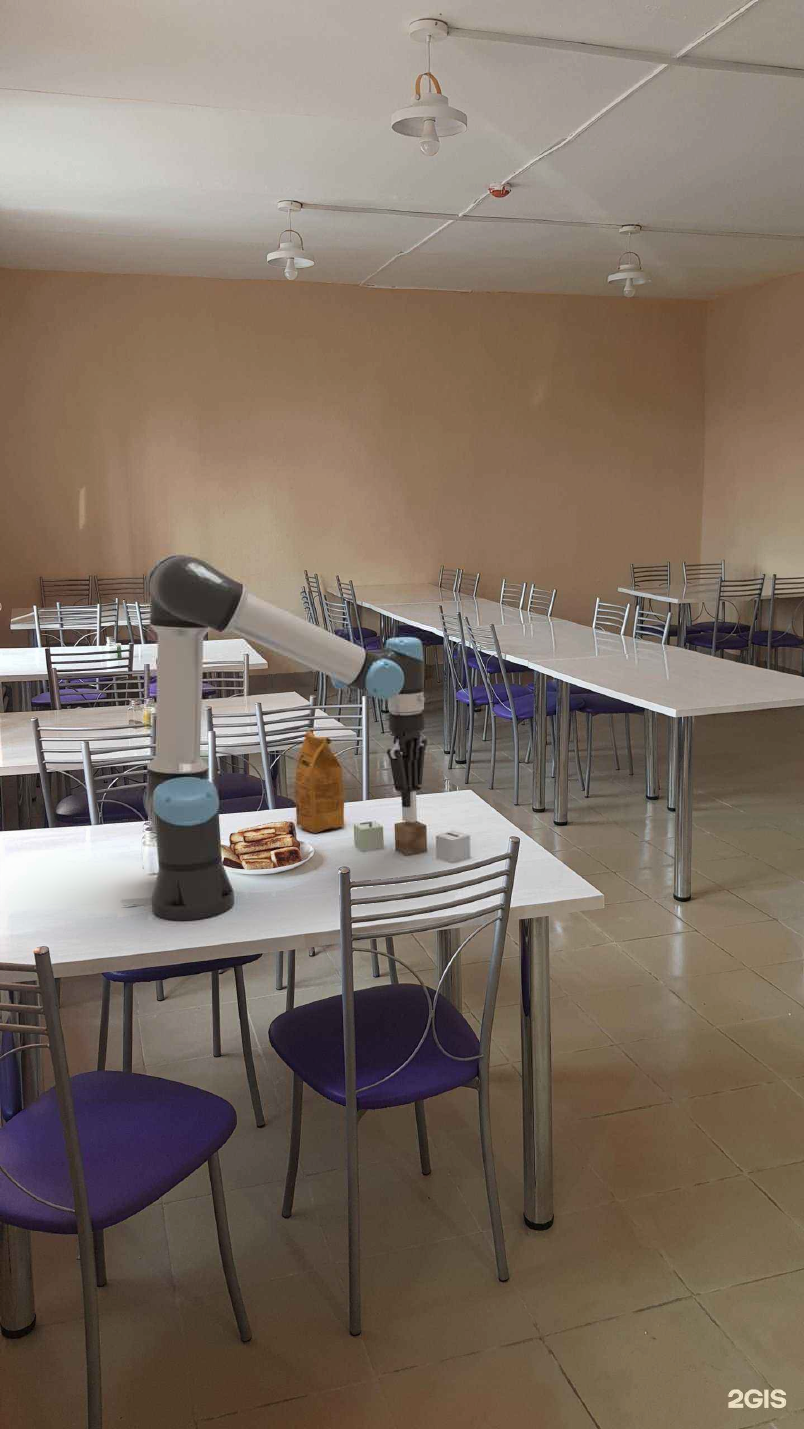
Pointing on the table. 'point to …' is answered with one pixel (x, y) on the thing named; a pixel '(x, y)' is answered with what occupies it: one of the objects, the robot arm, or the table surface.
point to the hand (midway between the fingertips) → (409, 820)
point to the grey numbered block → (453, 846)
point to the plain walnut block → (410, 838)
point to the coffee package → (318, 786)
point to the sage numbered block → (368, 836)
